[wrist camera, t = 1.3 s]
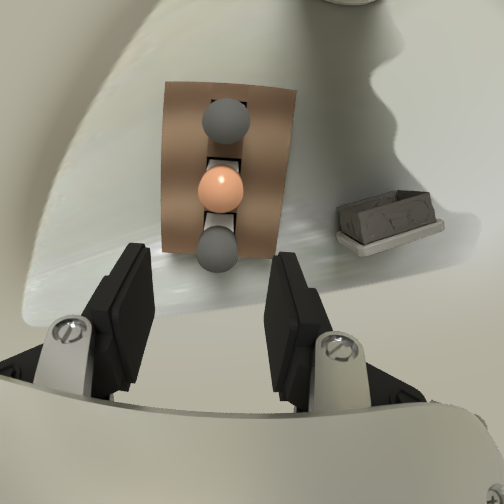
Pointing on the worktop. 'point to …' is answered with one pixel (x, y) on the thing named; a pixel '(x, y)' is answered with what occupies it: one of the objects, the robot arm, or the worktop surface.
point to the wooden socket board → (247, 149)
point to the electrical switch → (387, 221)
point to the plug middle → (221, 186)
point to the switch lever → (226, 121)
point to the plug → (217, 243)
